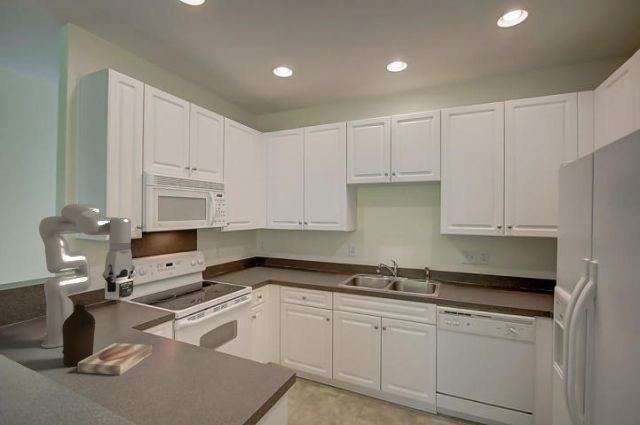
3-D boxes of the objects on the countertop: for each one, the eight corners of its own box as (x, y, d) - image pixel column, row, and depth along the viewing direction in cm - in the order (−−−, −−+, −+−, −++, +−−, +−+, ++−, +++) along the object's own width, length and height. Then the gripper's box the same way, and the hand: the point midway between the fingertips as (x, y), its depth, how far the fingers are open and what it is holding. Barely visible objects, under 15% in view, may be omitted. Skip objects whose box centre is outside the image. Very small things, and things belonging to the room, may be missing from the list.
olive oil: (101, 356, 127) (102, 298, 127) (78, 368, 116) (79, 305, 116) (78, 354, 128) (79, 297, 128) (54, 367, 117) (55, 304, 117)
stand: (77, 371, 114) (77, 361, 114) (114, 350, 132) (114, 341, 132) (120, 375, 112) (120, 364, 112) (152, 353, 130) (152, 344, 130)
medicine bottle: (119, 300, 119) (119, 270, 119) (104, 299, 120) (104, 269, 121) (133, 295, 126) (133, 267, 126) (119, 294, 127) (119, 266, 128)
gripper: (127, 245, 133) (126, 284, 132) (94, 249, 115) (93, 294, 115) (142, 245, 132) (142, 284, 132) (111, 249, 115) (110, 295, 114)
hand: (119, 289), depth 123 cm, fingers closed on medicine bottle, 7 cm apart
